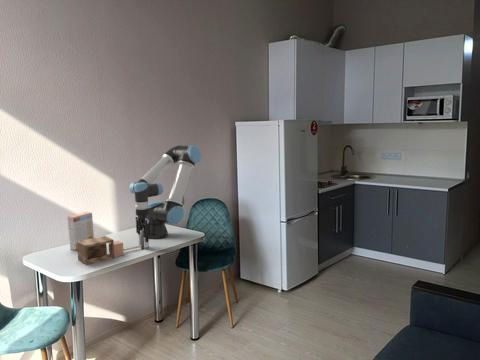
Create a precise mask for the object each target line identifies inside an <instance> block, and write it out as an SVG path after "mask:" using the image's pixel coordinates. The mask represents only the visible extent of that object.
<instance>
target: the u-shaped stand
mask: <svg viewBox="0 0 480 360" xmlns="http://www.w3.org/2000/svg"><path fill="white" fill-rule="evenodd" d="M143 236H144V231H143V230H140V240H141V245H139V244H138V245H135V246H130V247H129V246H128V247H126V248H124V242H122V241H120V240H115V241H114V257H118V256H124V255H125V253H124V251H125V252H126V251H129V250H133V249H137V248H140V249H141V250H146V249H147V248H148V247H146V249H145V248H144V237H143ZM108 251H109V252H108V253H109V254H111V242H110V243H108ZM109 254H108V255H109Z"/></svg>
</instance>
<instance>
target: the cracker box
mask: <svg viewBox="0 0 480 360" xmlns="http://www.w3.org/2000/svg"><path fill="white" fill-rule="evenodd" d="M93 220H94V219H93V212H91V211H84V212H80V213H77V214H72V215H68V216H67V227H68V238H69V247H70V249H69V250H71V251H77V252H78V250H77V241H82V240H87V239H92V238H95V233H94V231H95V230H94V223H93V222H94V221H93Z"/></svg>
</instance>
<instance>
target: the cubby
mask: <svg viewBox="0 0 480 360" xmlns="http://www.w3.org/2000/svg"><path fill="white" fill-rule="evenodd" d="M110 242H111V254H108V251H107V244H109V243H110ZM114 242H115V241H114V239H113V238H110V237H108V236H106V235H103V236H97V237H94V238H92V239H87V240H82V241H77V259H78V261H79V262H81V263H82V264H84V265H85V266H87V265H91V264H96V263H100V262H103V261H108V260H112V259H115V257H116V256H115V257H114Z"/></svg>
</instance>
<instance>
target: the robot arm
mask: <svg viewBox="0 0 480 360" xmlns="http://www.w3.org/2000/svg"><path fill="white" fill-rule="evenodd" d="M201 153H202V152H201V150H200V148H199V147H198V146H196V145H192V144H191V145H190V144H189V145H183V144H181V145H179V144H177V145H175V146H172V147H170V149H168V150H167V151H165V152H164V154H163V155H162V156H161V159H160V160H158V161H157V163H155V164H154V165H153V166H152V167H151V168H150V169H149V170H148V171H147V172H146V173H145V174H143V176H142V177H141V178H140V179H138V181H134V182H131V183H130V185H129V189H128V190H129V192H130V193H132V194H133V195H134V201H135V203H134V207H135V216H136V217H135V231H136V234H137V235H138V245H141V240H140V230H143V231H144V236H143V237H144V248H146V247H147V248H149V247H150V243H149V241H150V240H157V239H163V238H166V236H167V237H168V236H169V232H168V229H167V226H166V224H170V225H171V224H172V225H173V224H176V225H177V224H178V223H180V222H182V220H183V218H184V216H185V211H184V210H185V209H184V208H183V203H182V201H183V198H184V194H185V190H186V188H187V185H188V181H189V177H190V174H191V170H193V169H194V168H195V165H196V164H198V163H199V162H200V161H201V157H202V154H201ZM175 164H177V165H178V167H177V170H176V172H175V173H176V174H175V176H174V179H173V184H172V187H171V189H170V193H169V196H168V198H166V200H165V201H162V200H161V201H153V202H149V198H152V197H157V196H160V195H162V194H163V192H164V186H163V185H162V184H161V183H160V182H157V183H156V181H157V180H158V179H159V178H160V176H162V175H163V174H164V173H165V172H166V171H167V170H168V168H170V167H172V166H174V165H175ZM165 223H166V224H165ZM149 239H150V240H149ZM147 248H146V249H147Z"/></svg>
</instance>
